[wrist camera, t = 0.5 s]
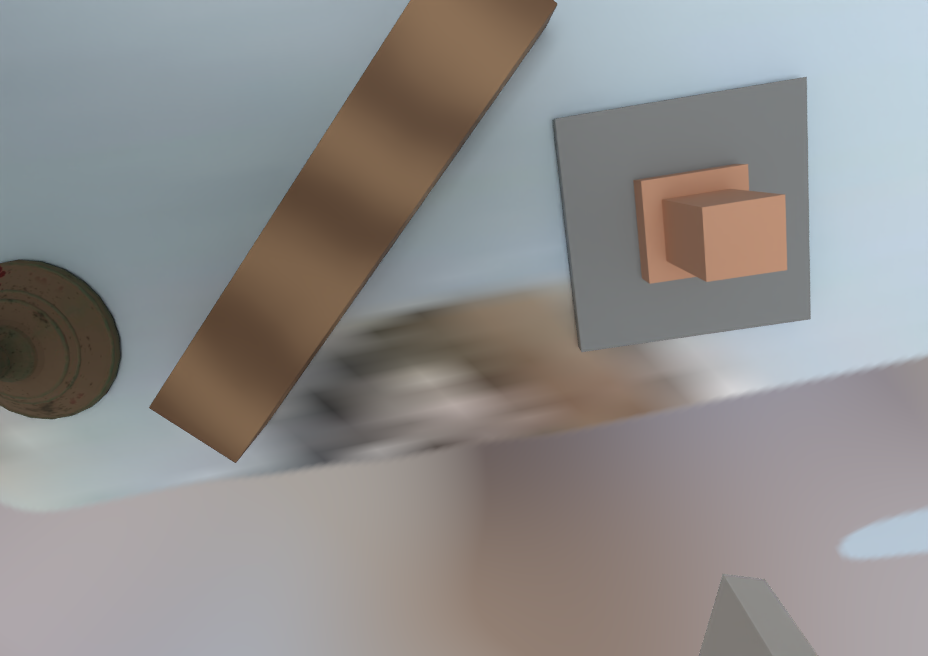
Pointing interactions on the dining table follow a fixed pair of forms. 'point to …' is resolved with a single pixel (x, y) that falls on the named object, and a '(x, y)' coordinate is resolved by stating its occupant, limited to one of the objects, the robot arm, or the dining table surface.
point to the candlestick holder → (53, 342)
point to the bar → (346, 211)
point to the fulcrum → (687, 214)
